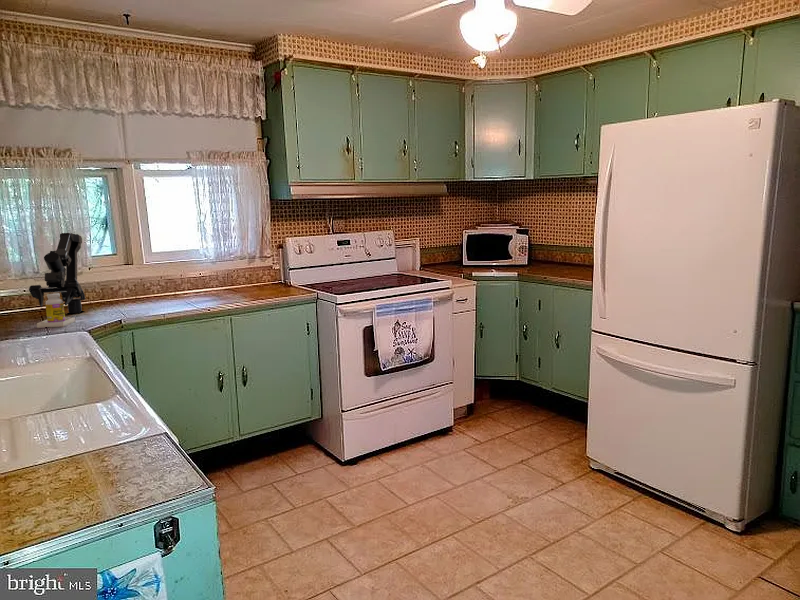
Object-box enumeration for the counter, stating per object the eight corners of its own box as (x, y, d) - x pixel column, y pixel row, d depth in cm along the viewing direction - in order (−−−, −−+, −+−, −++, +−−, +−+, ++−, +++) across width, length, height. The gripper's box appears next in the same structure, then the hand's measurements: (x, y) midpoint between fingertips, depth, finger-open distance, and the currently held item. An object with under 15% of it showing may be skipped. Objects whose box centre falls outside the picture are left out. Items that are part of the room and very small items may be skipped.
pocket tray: (51, 322, 251) (50, 318, 250) (76, 321, 252) (76, 317, 251) (37, 328, 239) (36, 323, 239) (63, 326, 240) (63, 322, 240)
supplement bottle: (53, 325, 241) (49, 295, 239) (44, 324, 244) (40, 294, 242) (69, 322, 246) (65, 293, 244) (60, 321, 250) (56, 292, 248)
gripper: (27, 266, 242) (21, 296, 233) (76, 264, 247) (72, 292, 238) (35, 282, 251) (30, 311, 242) (82, 280, 256) (79, 308, 247)
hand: (53, 305), depth 242 cm, fingers open, 9 cm apart
